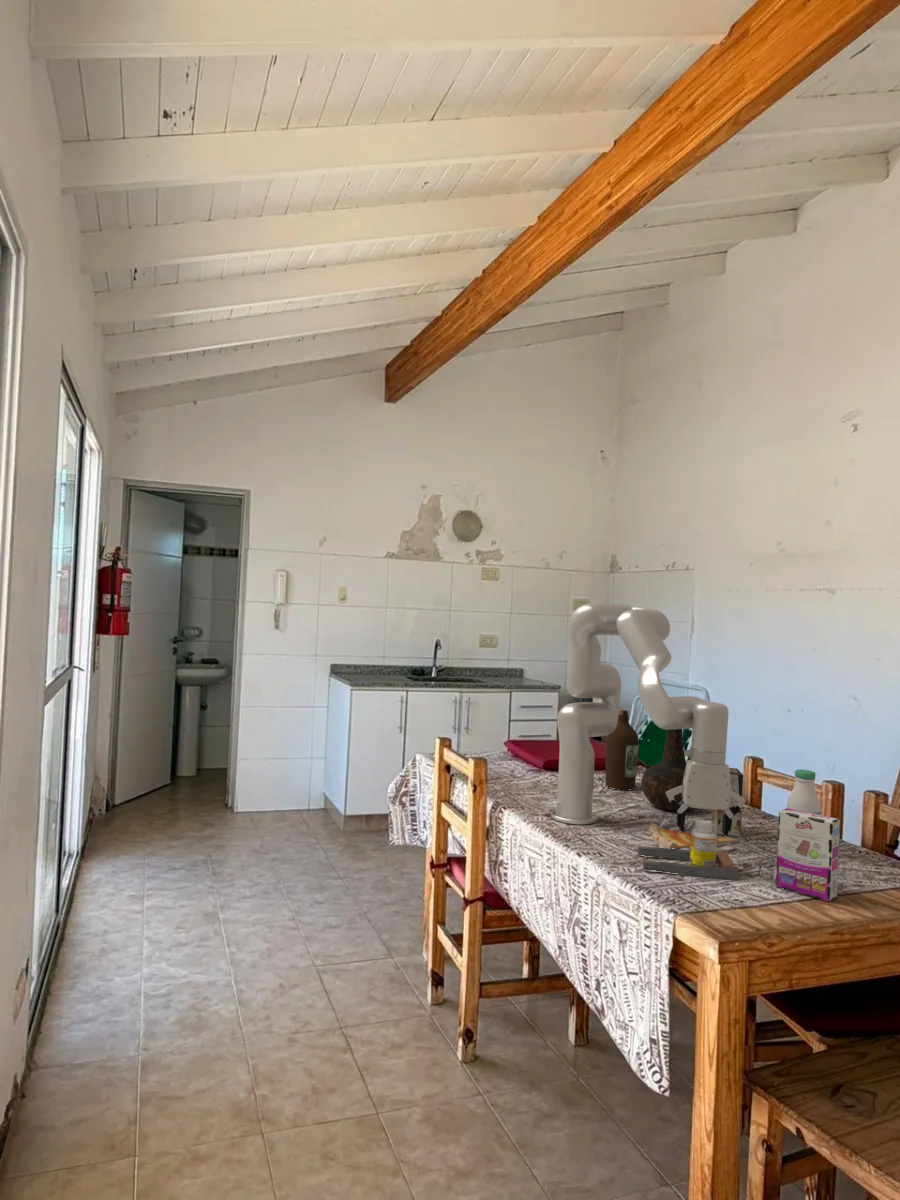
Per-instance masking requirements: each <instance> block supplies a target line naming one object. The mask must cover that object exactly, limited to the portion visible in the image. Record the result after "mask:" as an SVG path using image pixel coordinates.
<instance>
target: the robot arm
mask: <svg viewBox="0 0 900 1200" xmlns="http://www.w3.org/2000/svg"><path fill="white" fill-rule="evenodd" d="M568 627H569V628H568V629H569V631H568V632H569V634H568V635H569V653H568V660H567V661H568V662H567V675H566V689H567V692H568V694H569V695H570V696H571V697H573V698H577V699H592V701H589V702H588V701H585V702H582V701H580V702H571V703H568V704H565V705H563V707H561V708H560V709H559V711H558V713H557V716H556V723H557V730H558V738H559V740H558V741H559V755H558V757H559V758H558V779H557V784H558V785H557V797H556V798H555V800H552V801H548V800H540V808H542V809H544V810H547V811H548V810H552V811H551V813H550V816H551V818H552V819H553V820H555V821H558V822H560V823H564V824H571V825H591V824H595V823H597V822H598V820H599V819H598V818H599V817H598V816H599V815H597V814H596V813H595V812H593V806H594V805H593V803H594V783H595V782H594V781H595V780H594V779H595V749H594V747H593V745H592V743H591V741H590V738H597V737H606V735H609V734H611V733H612V732H613V731H614V730H615V728H616V726H617V722H618V715H619V710H620V704H621V693H622V679H621V675H620V673H619V670H618V669H617V668H616V667H615V666H614V665H612V664H609V663H606V662H605V663H603V662H602V663H601V656H602V647H601V644H600V643H601V642H600V640H599V638H598V637H597V636H620V639H622V641H623V643H624V645H625V647H626V650H628V653H629V654H630V656H631V658H632V660H633V661H634V663H635V665H636V666H637V668H638V671H639V673H638V679H637V689H638V690H637V692H638V695H639V700H640V703H641V704H642V706H643V708H644V710H645V711H646V713H647V715H648V716H649V718H650V719H651V721H652V722H653V723H654V724H655V726H657V727H658V728H660V729H661V730H674V729H682V730H687V729H688V730H689V729H690V730H692V732H691V744H690V748H689V749H684V756H685V757H688V758H689V759H688V760H686V763H687V764H686V768H685V773H684V778H683V785H681V786H678V787H676V788H673V789H671V790H668V791H666V795H667V797H668V799H669V801H670V803H671V805H672V806H673V807H674V808H675V810H676V811H675V812H676V822H675V823H676V827H678V829H679V831H680V832H684V831H685V825H686V824H685V821H686V814H685V811H687V810H686V809H687V808H688V807H692V808H693V809H701V810H702V809H703V810H723V811H724V812H725V814H724V815H723V822H722V832H723V834H724V836H726V837H728V836H729V835H728V831H731V820H732V818H733V817H734V815H736V814H737V813H738V812H739V811H740V810H741V808H743V807H744V805H745V803H746V799H745V798H744V797H743V796H742V797H741V796H739V795H738V794H736V793H735V792H733V791H731V785H730V770H729V768H730V765H728V764H727V763H726V757H727V740H728V727H729V725H728V724H729V709H728V706H727V705H726V704H723V703H719V702H715V701H708V700H705V699H702V698H699V697H697V696H692V695H691V696H686V695H685V696H669V695H668V693H667V691H666V689H665V688H664V686H663V684H662V683H661V679H660V673H661V672H662V671H663V670H665V669H666V668H667V667H668V666H669V664H670V663H671V661H672V654H671V652H670V650H669V649H668V648H667V646H666V644H665V643H664V641H665V640H666V639H667V638H668V636H669V635H670V632H671V623H670V621H669V618H668V617H667V616H666V615H665V614H664V613H663V612H662V611H660V610H658V609H653V608H652V609H651V608H647V607H642V606H641V607H640V606H636V605H631V604H625V603H623V604H622V603H610V602H609V603H608V602H607V603H606V602H589V603H585V604H581V605H579V606H578V607H577V608H576V609H575V610H574V611H573V612H572V614H571V617H570V619H569V626H568ZM679 793H682V801H681V802H680V803H679V804H678V803H677V802H676V801H675V799H674V795H677V794H679ZM731 797H732V798H733V799H735V800H736V801H737V802H736V804H735V805H734V806H733V807H731V808H730V809H729V807H730V800H731ZM692 808H691V809H692Z"/></svg>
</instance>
